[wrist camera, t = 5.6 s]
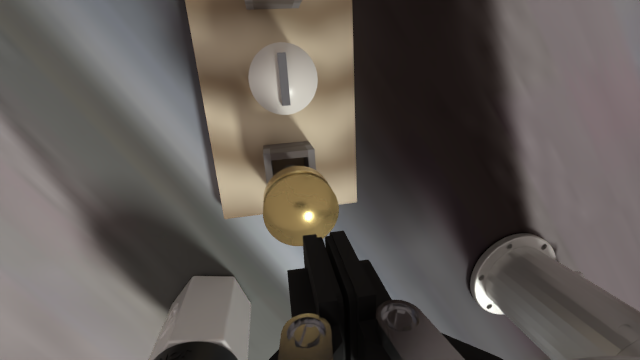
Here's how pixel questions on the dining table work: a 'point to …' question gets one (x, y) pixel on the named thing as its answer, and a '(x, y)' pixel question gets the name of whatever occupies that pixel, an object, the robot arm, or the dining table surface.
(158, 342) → the jar
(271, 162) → the mount board
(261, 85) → the dial
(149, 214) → the dining table surface
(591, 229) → the dining table surface
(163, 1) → the dining table surface
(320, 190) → the knob
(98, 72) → the dining table surface
